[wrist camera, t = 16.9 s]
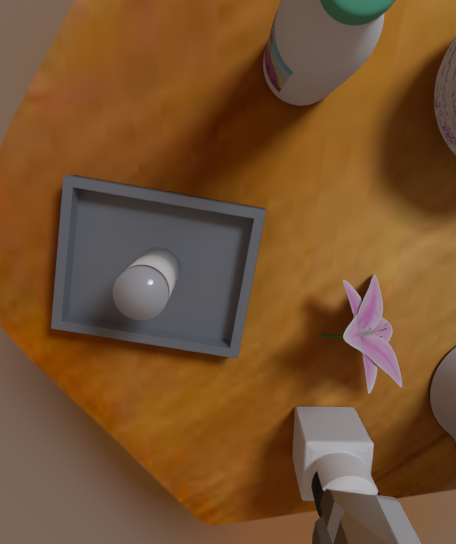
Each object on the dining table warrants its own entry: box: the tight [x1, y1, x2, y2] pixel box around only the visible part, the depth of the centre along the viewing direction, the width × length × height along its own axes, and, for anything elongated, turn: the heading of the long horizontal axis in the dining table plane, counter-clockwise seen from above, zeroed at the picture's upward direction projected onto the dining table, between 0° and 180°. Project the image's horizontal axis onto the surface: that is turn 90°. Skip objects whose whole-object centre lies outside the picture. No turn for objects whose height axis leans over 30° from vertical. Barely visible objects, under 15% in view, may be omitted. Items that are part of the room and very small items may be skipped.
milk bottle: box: [263, 0, 395, 106], centre depth 32 cm, size 8×8×20 cm
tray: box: [51, 175, 266, 359], centre depth 44 cm, size 20×16×3 cm
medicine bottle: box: [292, 406, 380, 518], centre depth 45 cm, size 7×7×12 cm
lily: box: [321, 274, 402, 393], centre depth 44 cm, size 12×12×10 cm
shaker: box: [113, 247, 180, 320], centre depth 40 cm, size 5×5×10 cm
